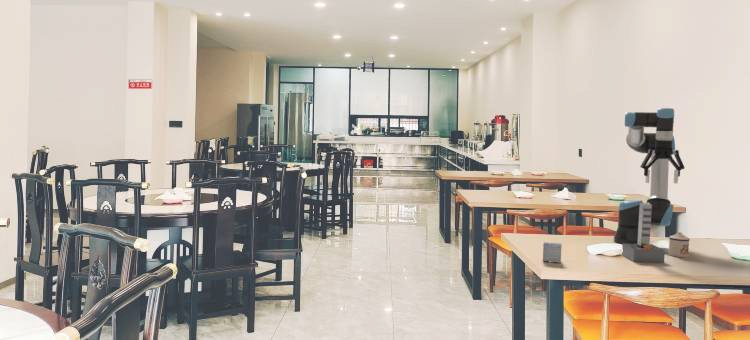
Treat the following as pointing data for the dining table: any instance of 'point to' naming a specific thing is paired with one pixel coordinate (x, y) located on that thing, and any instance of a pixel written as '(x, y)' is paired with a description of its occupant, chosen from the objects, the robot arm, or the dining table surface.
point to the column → (644, 224)
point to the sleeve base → (643, 253)
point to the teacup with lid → (678, 245)
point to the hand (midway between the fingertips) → (661, 183)
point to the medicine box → (552, 252)
